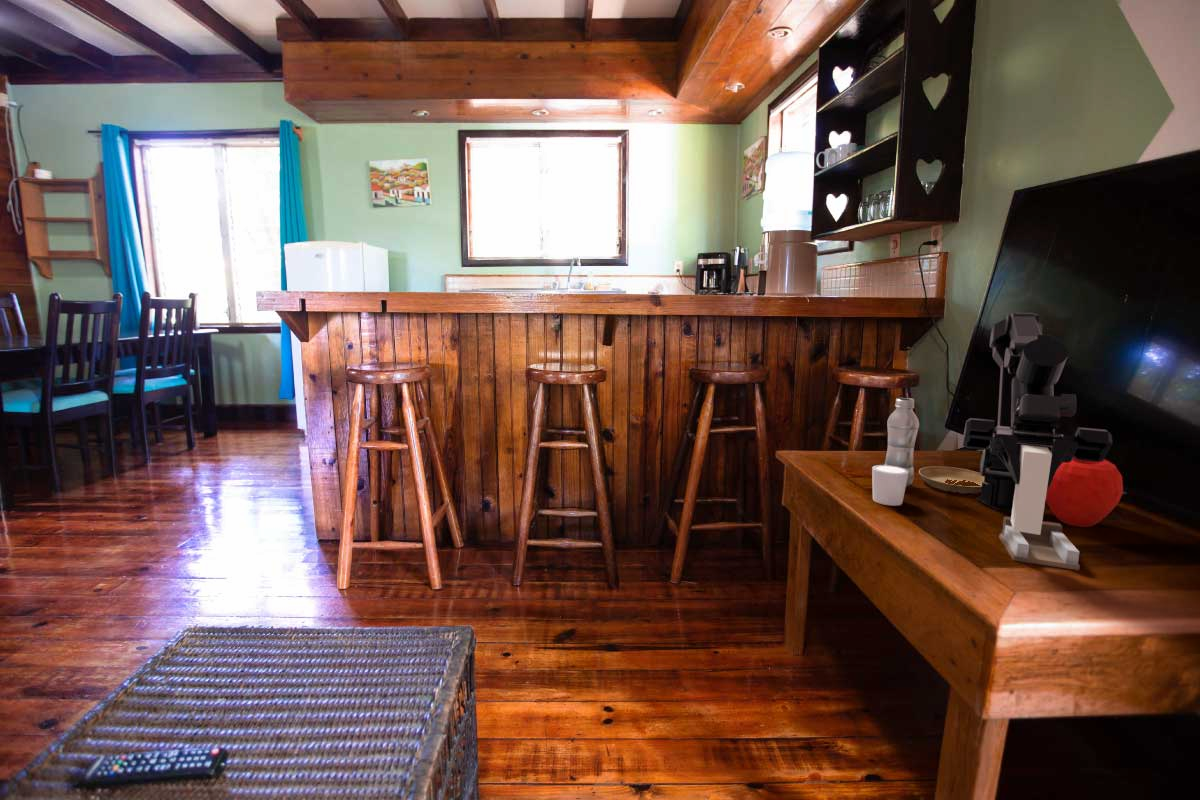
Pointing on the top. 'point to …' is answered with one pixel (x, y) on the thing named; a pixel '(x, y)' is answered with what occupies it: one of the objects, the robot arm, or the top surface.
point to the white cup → (889, 484)
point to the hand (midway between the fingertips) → (1032, 485)
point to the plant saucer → (952, 478)
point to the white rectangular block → (1031, 489)
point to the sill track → (1040, 546)
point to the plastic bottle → (902, 436)
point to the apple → (1084, 492)
